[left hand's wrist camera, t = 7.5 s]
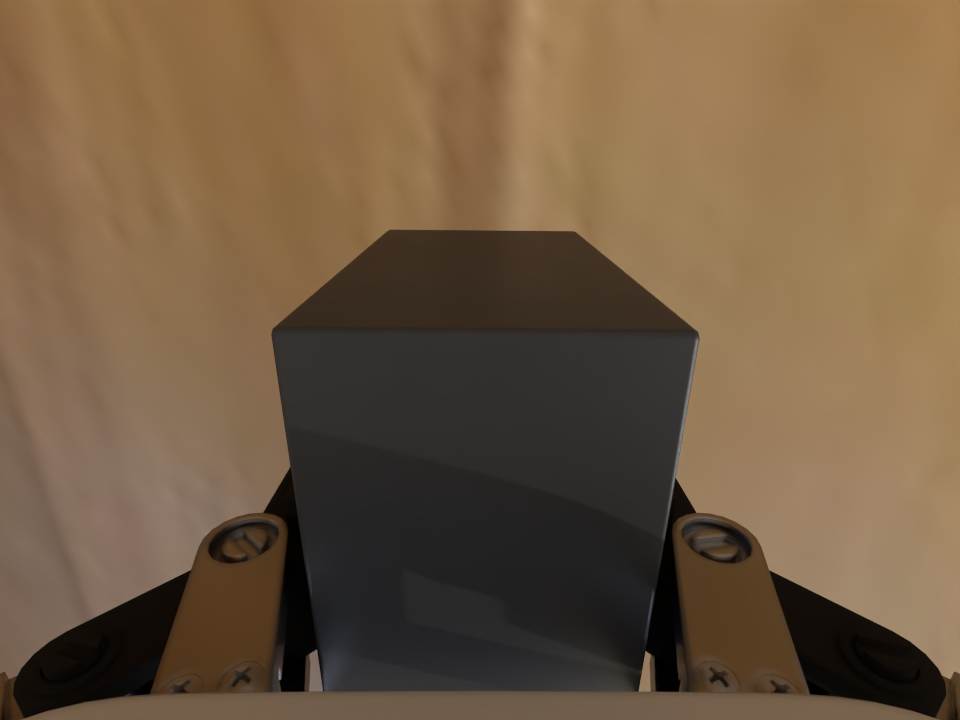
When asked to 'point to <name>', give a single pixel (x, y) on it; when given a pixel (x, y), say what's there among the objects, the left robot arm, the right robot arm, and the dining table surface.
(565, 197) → the dining table surface
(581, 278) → the beam
